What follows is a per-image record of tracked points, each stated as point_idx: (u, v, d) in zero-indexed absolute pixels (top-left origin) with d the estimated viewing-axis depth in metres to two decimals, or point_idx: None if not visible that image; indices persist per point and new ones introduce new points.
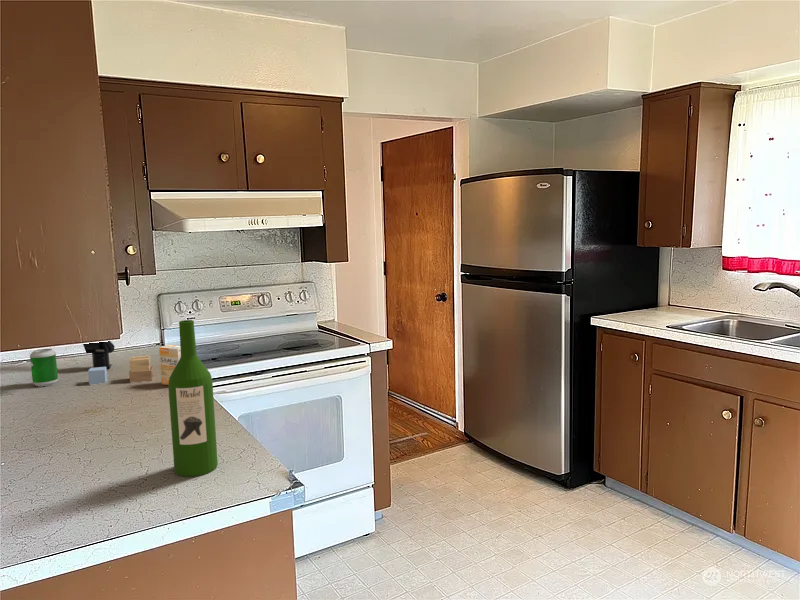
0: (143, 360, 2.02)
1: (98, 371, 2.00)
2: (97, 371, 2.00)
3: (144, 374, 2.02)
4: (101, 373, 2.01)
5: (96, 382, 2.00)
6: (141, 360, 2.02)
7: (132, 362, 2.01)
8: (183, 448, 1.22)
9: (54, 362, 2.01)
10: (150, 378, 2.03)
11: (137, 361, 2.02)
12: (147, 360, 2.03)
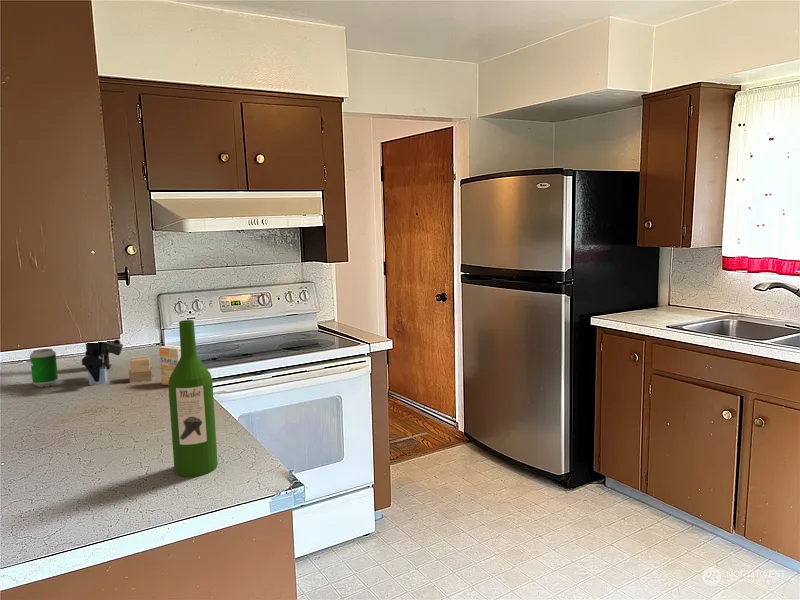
0: (143, 360, 2.03)
1: None
2: None
3: (144, 374, 2.02)
4: (101, 372, 2.01)
5: (96, 382, 2.00)
6: (142, 360, 2.02)
7: (132, 362, 2.01)
8: (183, 448, 1.22)
9: (54, 362, 2.01)
10: (150, 378, 2.03)
11: (137, 361, 2.02)
12: (147, 360, 2.03)
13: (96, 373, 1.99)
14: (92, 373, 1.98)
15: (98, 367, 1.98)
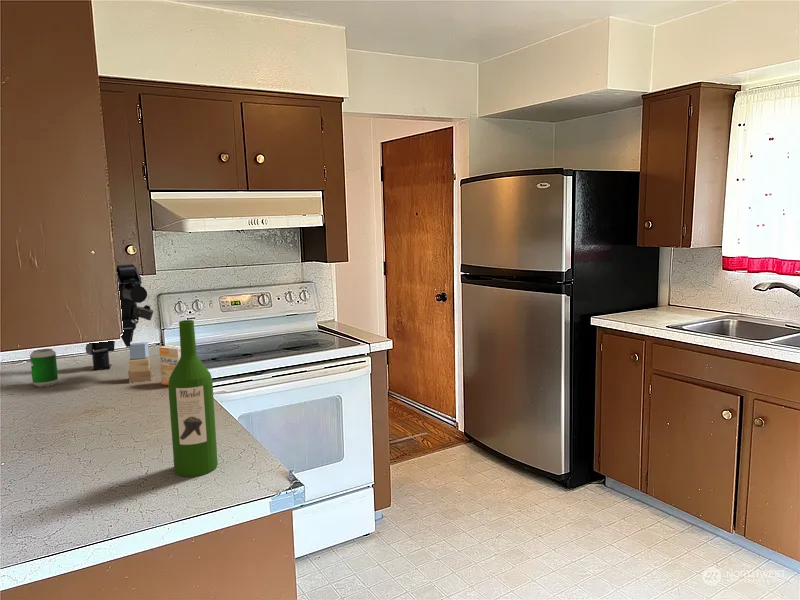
0: (142, 360, 2.02)
1: (139, 345, 2.02)
2: (138, 345, 2.02)
3: (143, 374, 2.02)
4: (141, 347, 2.03)
5: (137, 356, 2.02)
6: (141, 360, 2.02)
7: (131, 363, 2.01)
8: (183, 448, 1.22)
9: (54, 362, 2.01)
10: (149, 378, 2.03)
11: (136, 361, 2.01)
12: (147, 360, 2.02)
13: (127, 338, 2.00)
14: (123, 338, 2.00)
15: (130, 332, 2.00)
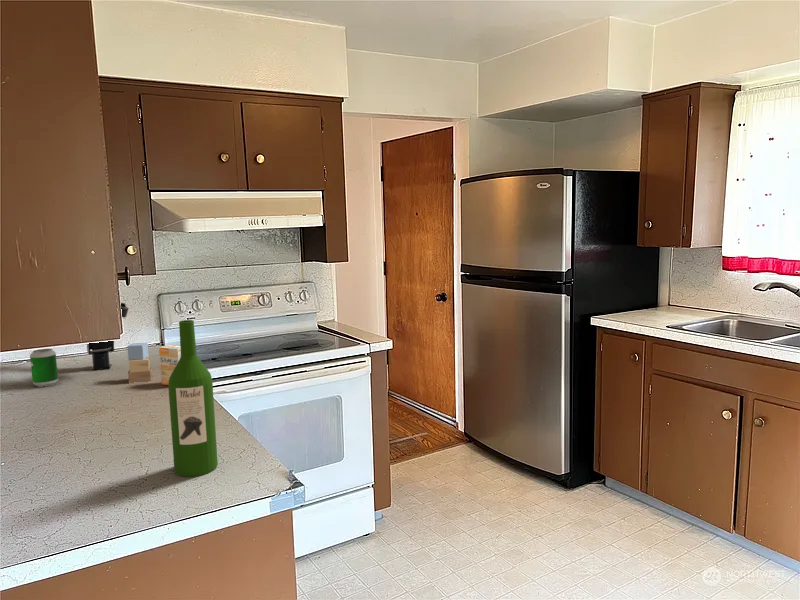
0: (142, 361, 2.01)
1: (136, 346, 2.01)
2: (135, 346, 2.01)
3: (143, 374, 2.02)
4: (139, 348, 2.01)
5: (135, 357, 2.02)
6: (141, 361, 2.01)
7: (131, 363, 2.00)
8: (183, 448, 1.22)
9: (54, 362, 2.01)
10: (149, 379, 2.03)
11: (136, 362, 2.01)
12: (147, 361, 2.02)
13: None
14: None
15: None
